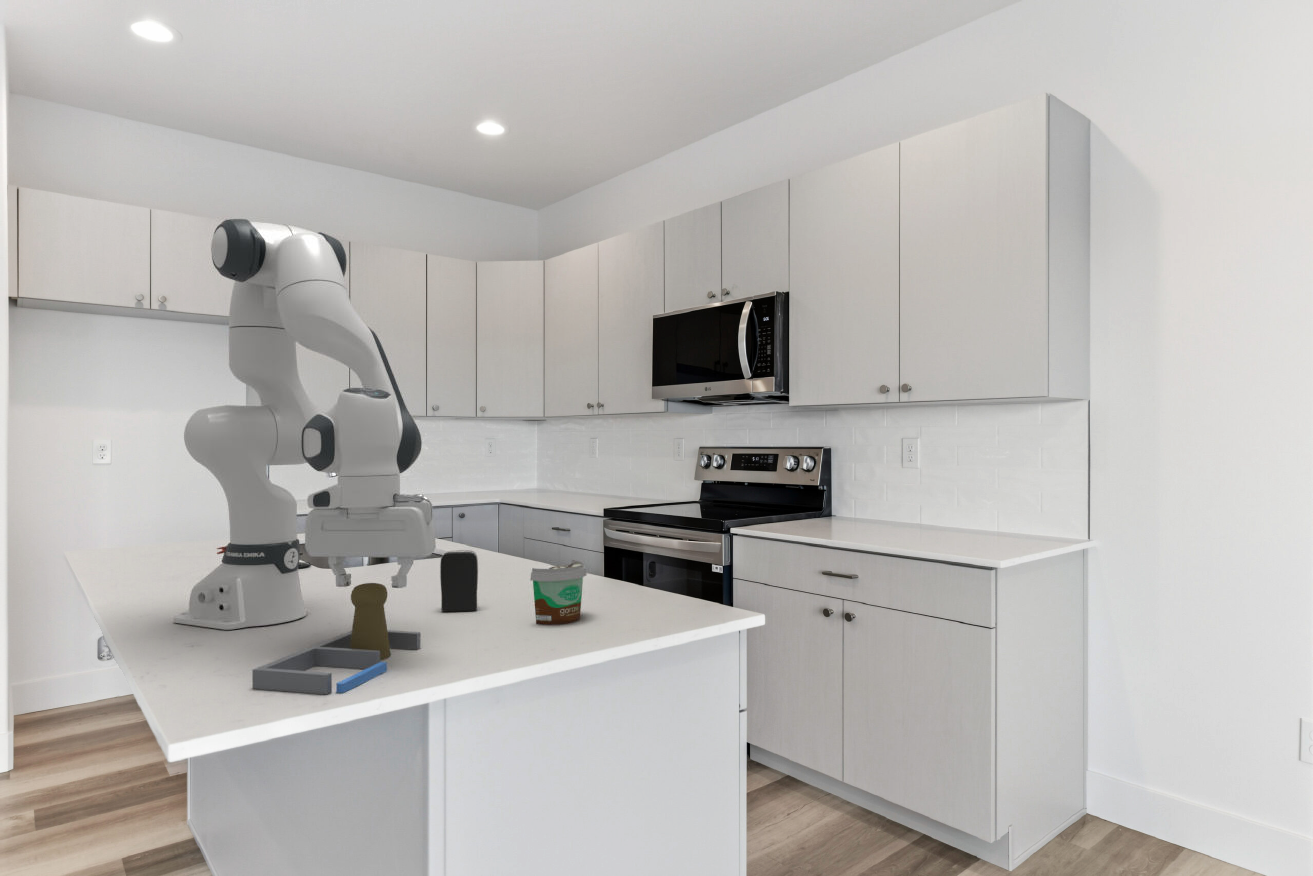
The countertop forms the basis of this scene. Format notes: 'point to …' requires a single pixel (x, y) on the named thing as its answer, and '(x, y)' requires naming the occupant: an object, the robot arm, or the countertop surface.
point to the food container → (558, 593)
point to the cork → (370, 619)
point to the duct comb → (328, 665)
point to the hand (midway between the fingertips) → (371, 586)
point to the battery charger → (459, 581)
